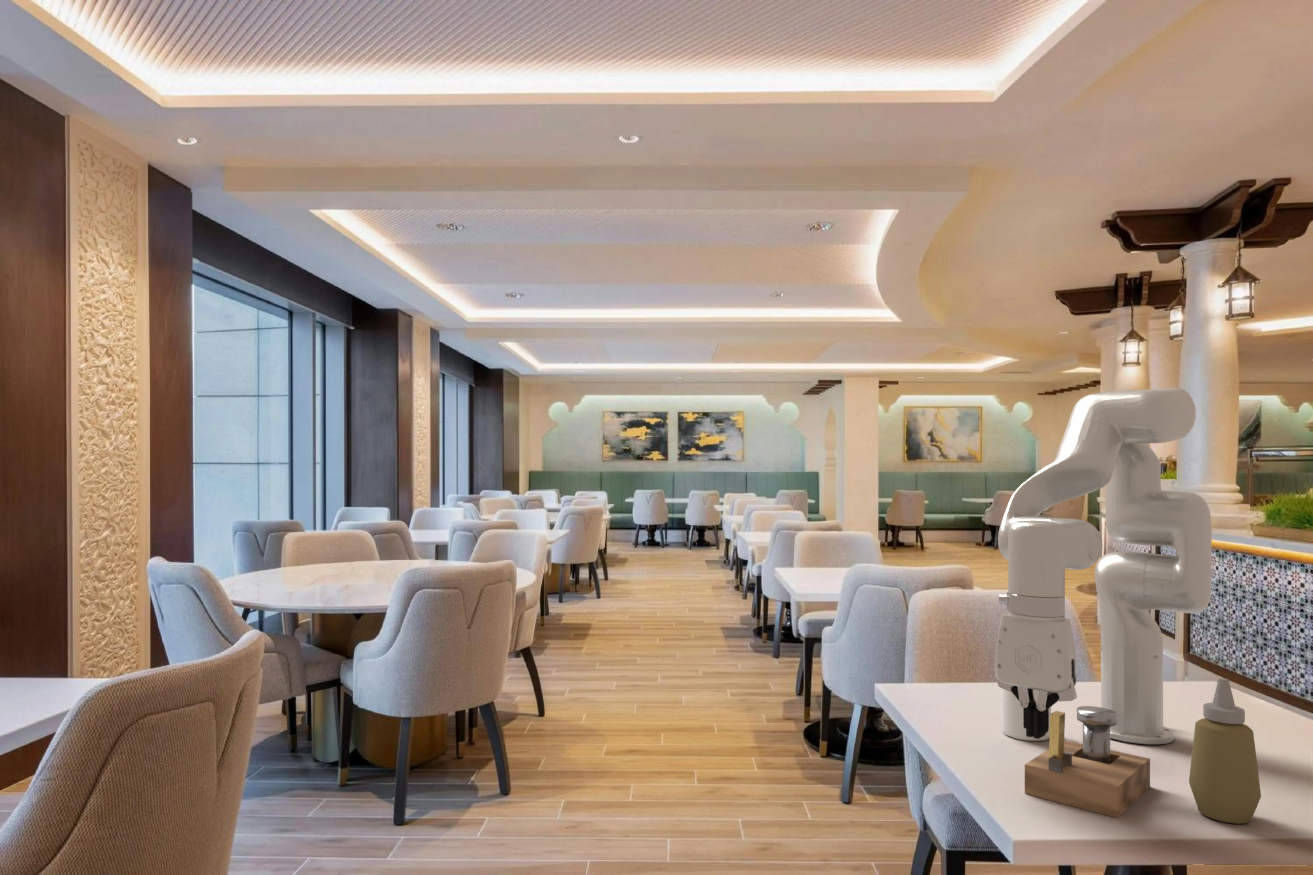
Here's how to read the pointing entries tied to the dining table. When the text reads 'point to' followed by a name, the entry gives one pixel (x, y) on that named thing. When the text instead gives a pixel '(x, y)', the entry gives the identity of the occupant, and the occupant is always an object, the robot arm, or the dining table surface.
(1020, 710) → the pill bottle
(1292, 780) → the dining table surface
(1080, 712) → the steel pin
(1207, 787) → the squeeze bottle
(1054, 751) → the bar
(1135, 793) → the block
